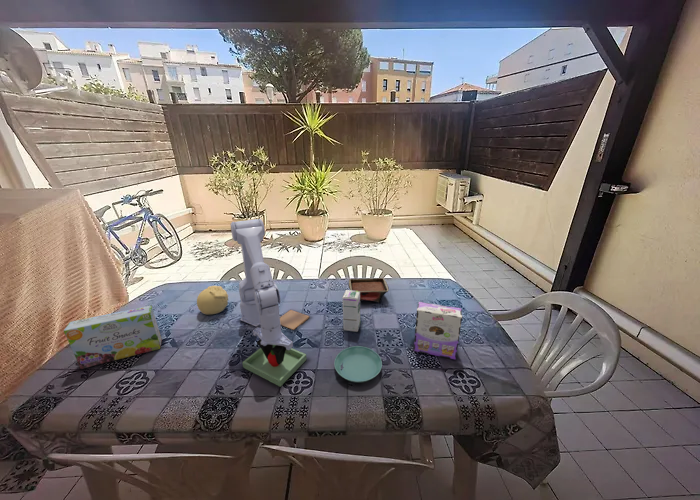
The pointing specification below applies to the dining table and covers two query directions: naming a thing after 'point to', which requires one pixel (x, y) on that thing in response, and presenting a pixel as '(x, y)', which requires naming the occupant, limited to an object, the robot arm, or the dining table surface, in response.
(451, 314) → the candy box
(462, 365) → the dining table surface
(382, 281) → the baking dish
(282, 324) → the board
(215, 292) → the sculpture
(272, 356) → the strawberry
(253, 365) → the tray
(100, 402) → the dining table surface
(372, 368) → the saucer
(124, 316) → the snack box
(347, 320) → the syrup box
